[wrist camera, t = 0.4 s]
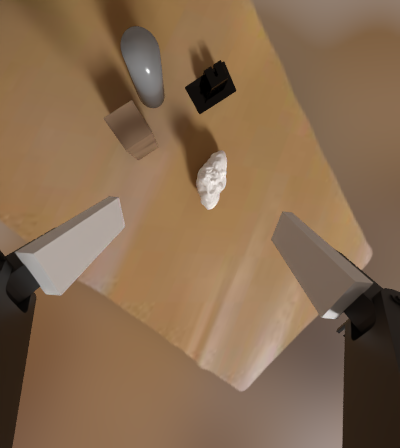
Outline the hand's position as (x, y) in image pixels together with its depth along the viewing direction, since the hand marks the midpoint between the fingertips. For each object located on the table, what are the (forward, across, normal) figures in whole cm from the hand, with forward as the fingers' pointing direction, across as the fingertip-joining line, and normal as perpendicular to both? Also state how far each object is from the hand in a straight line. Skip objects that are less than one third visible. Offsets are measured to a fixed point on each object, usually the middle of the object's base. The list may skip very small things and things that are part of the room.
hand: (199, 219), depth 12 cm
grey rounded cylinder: (+26, -12, +13) cm, 31 cm away
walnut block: (+23, -13, +4) cm, 27 cm away
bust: (+24, +1, -3) cm, 24 cm away
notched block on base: (+30, 0, +14) cm, 33 cm away
